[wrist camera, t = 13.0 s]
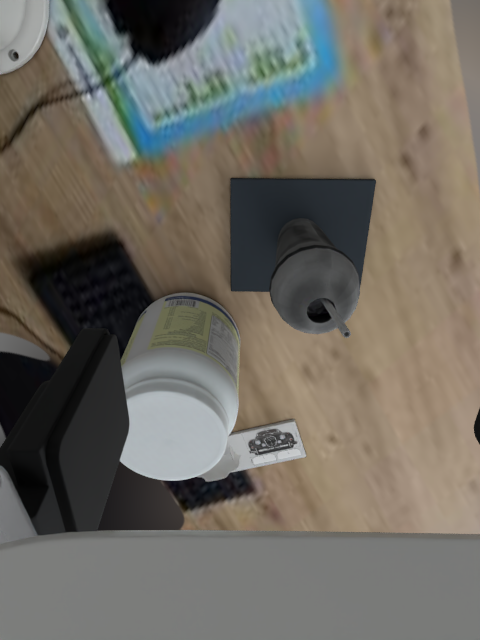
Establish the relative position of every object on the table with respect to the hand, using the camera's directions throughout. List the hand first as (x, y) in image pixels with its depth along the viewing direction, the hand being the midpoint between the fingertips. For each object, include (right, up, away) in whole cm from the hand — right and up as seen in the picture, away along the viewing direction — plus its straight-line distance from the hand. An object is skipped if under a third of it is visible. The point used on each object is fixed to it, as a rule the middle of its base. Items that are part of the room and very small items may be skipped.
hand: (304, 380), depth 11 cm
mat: (+4, +10, +36) cm, 38 cm away
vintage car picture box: (-1, -16, +51) cm, 53 cm away
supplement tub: (-8, 0, +42) cm, 43 cm away
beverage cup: (+5, +10, +36) cm, 37 cm away
